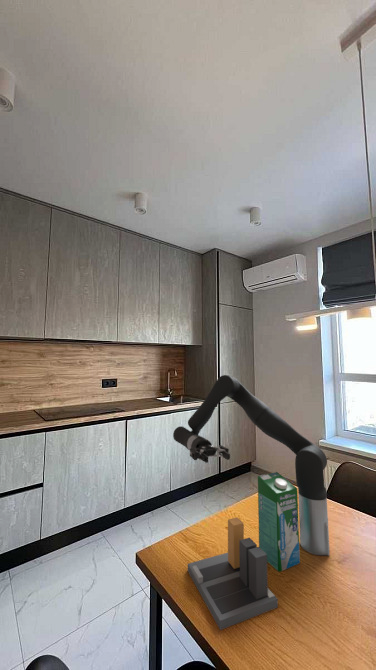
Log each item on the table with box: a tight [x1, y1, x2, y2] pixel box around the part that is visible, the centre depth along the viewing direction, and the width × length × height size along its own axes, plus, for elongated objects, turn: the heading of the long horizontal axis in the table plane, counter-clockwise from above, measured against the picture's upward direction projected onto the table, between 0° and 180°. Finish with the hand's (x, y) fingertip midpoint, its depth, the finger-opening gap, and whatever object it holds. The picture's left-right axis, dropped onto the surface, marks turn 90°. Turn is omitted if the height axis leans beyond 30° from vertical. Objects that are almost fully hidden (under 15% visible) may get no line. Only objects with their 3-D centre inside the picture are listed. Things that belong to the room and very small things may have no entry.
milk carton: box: [257, 471, 301, 573], centre depth 91 cm, size 9×9×25 cm
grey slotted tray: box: [187, 537, 279, 631], centre depth 79 cm, size 17×20×12 cm
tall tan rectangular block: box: [227, 517, 245, 569], centre depth 85 cm, size 4×4×12 cm
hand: (218, 458), depth 97 cm, fingers open, 8 cm apart
